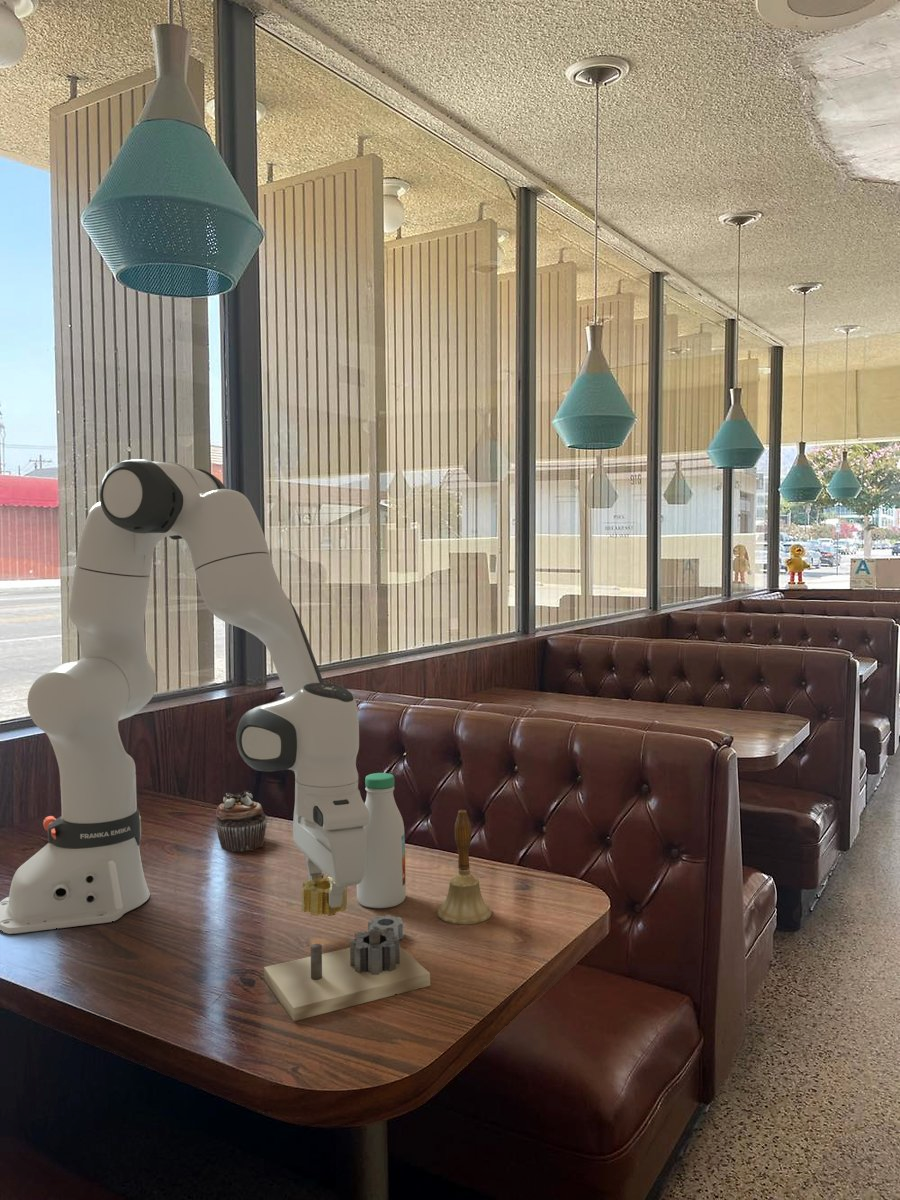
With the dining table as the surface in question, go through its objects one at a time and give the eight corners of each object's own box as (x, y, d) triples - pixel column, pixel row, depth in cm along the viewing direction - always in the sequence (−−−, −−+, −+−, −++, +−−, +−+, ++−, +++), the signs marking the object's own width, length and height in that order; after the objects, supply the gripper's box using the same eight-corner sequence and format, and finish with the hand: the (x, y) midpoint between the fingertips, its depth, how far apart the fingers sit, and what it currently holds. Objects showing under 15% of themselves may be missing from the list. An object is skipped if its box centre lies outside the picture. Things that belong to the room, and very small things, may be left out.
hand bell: (474, 929, 132) (473, 821, 131) (426, 917, 136) (425, 813, 135) (501, 909, 139) (501, 807, 138) (455, 899, 143) (455, 800, 142)
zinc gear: (381, 947, 126) (380, 932, 125) (361, 936, 130) (361, 921, 129) (410, 938, 129) (410, 923, 129) (390, 926, 133) (390, 912, 132)
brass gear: (309, 919, 124) (310, 896, 124) (295, 902, 129) (295, 880, 129) (353, 911, 127) (354, 889, 127) (337, 895, 132) (338, 874, 132)
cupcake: (224, 856, 164) (223, 802, 164) (210, 842, 173) (208, 790, 172) (274, 847, 169) (274, 794, 168) (258, 833, 177) (257, 783, 177)
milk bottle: (398, 911, 138) (397, 782, 137) (350, 907, 140) (348, 780, 139) (410, 892, 146) (409, 770, 145) (365, 889, 147) (363, 768, 146)
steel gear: (375, 979, 113) (375, 954, 113) (340, 965, 117) (339, 941, 117) (409, 961, 118) (409, 937, 118) (374, 948, 122) (374, 925, 122)
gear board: (293, 1021, 106) (292, 974, 106) (264, 979, 117) (263, 936, 116) (430, 985, 115) (429, 942, 114) (391, 949, 125) (390, 909, 125)
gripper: (282, 783, 135) (281, 874, 136) (329, 822, 117) (327, 926, 118) (323, 779, 138) (321, 868, 139) (374, 816, 120) (372, 918, 121)
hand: (324, 895), depth 128 cm, fingers closed on brass gear, 6 cm apart
